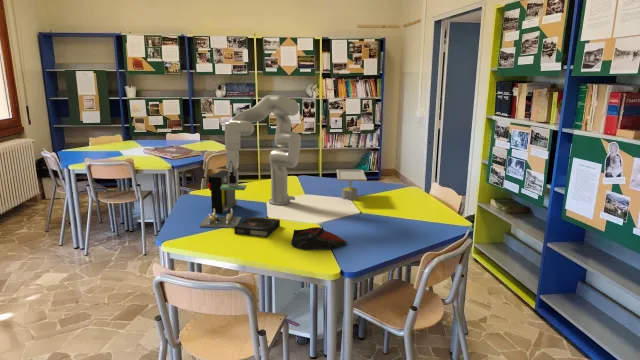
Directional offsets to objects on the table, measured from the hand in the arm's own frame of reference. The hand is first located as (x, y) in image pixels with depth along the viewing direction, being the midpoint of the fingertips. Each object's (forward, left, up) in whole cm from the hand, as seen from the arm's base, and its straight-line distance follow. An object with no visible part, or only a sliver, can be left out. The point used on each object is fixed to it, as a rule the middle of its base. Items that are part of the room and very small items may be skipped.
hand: (233, 182), depth 220 cm
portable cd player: (-14, +15, -21) cm, 29 cm away
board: (0, 0, -3) cm, 3 cm away
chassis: (+6, +5, -20) cm, 22 cm away
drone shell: (-43, +32, -21) cm, 58 cm away
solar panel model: (-63, -47, -20) cm, 81 cm away
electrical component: (+10, -20, -20) cm, 30 cm away
